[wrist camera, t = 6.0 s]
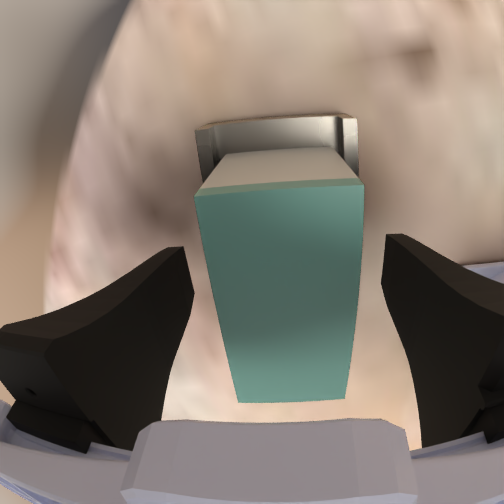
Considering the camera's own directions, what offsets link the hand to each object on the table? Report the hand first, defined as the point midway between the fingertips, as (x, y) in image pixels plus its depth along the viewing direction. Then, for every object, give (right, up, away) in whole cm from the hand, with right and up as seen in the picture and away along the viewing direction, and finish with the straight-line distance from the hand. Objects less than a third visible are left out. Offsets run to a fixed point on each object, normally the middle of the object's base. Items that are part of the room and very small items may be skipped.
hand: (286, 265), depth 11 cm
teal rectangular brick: (0, +1, +2) cm, 2 cm away
